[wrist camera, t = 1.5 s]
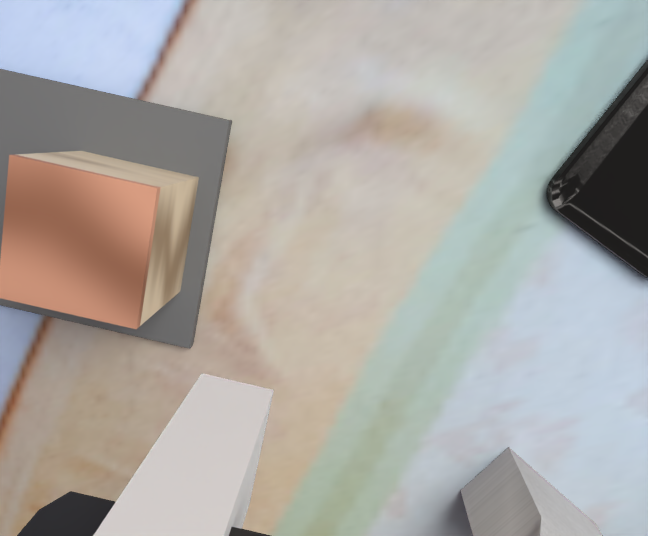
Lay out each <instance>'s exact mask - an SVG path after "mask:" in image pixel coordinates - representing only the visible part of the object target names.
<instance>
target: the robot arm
mask: <svg viewBox="0 0 648 536" xmlns="http://www.w3.org/2000/svg"><path fill="white" fill-rule="evenodd" d="M273 391H274V390H272V389H268V388H264V387H259V386H255V385H251V384H246V383H242V382H238V381H233V380H229V379H224V378H220V377H216V376H211V375H207V374H203V373H202V374H201V375H200V377H199V378H198V380H197V381H196V383H195V384H194V386H193V387H192V389H191V390H190V392H189V393H188V395H187V396H186V398H185V399H184V401H183V402H182V404H181V405H180V407H179V408H178V410H177V411H176V413H175V414H174V416H173V417H172V419H171V420H170V422H169V423H168V425H167V426H166V428H165V429H164V431H163V432H162V434H161V435H160V436H159V438H158V439H157V441H156V442H155V444H154V445H153V447H152V448H151V450H150V451H149V453H148V454H147V456H146V457H145V459H144V460H143V462H142V463H141V465H140V466H139V468H138V469H137V471H136V472H135V474H134V475H133V477H132V478H131V480H130V481H129V483H128V484H127V486H126V487H125V489H124V490H123V492H122V493H121V495H120V496H119V498H118V499H117V501H116V502H114V501H110V500H106V499H101V498H97V497H93V496H88V495H84V494H80V493H76V492H71V491H70V492H69V493H67V494H65V495H64V496H62V497H60V498H58V499H57V500H55V501H53V502H52V503H50V504H48V505H46V506H45V507H43V508H41V509H40V510H39V511H38V512H37V513H36V514H35V515H34V516H33V518H32V519H31V520H30V521H29V522H28V523H27V525H26V526H25V527H24V528H23V529H22V530H21V532H20V533H19V534H18V535H17V536H270V535H266V534H262V533H257V532H253V531H249V530H244V529H242V527H243V523H244V520H245V517H246V513H247V510H248V507H249V504H250V499H251V494H252V490H253V485H254V480H255V475H256V471H257V466H258V461H259V457H260V452H261V447H262V443H263V438H264V433H265V429H266V424H267V419H268V415H269V410H270V405H271V401H272V396H273Z"/></svg>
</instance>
